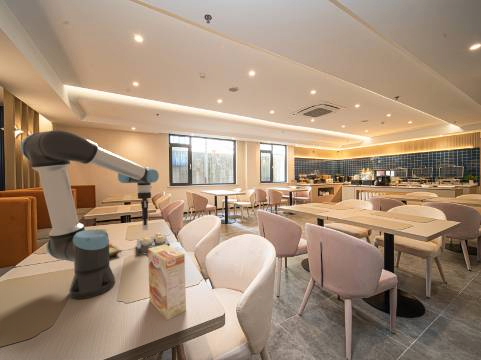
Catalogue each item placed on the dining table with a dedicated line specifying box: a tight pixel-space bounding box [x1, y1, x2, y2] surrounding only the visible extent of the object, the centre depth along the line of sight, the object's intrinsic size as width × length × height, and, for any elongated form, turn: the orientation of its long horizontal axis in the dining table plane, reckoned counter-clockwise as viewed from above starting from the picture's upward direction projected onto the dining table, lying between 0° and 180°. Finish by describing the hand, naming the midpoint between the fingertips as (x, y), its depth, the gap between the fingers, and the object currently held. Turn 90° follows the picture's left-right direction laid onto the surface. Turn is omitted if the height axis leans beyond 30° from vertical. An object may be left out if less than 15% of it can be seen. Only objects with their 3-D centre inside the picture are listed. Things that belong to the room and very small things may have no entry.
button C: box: [154, 232, 164, 241], centre depth 136 cm, size 5×5×4 cm
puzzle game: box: [109, 242, 123, 258], centre depth 120 cm, size 12×5×20 cm
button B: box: [141, 237, 152, 247], centre depth 125 cm, size 5×5×4 cm
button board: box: [136, 235, 171, 256], centre depth 131 cm, size 18×18×4 cm
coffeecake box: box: [147, 244, 187, 321], centre depth 71 cm, size 15×7×20 cm, turn 45°
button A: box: [156, 235, 164, 245], centre depth 129 cm, size 5×5×4 cm
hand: (145, 229), depth 125 cm, fingers closed
